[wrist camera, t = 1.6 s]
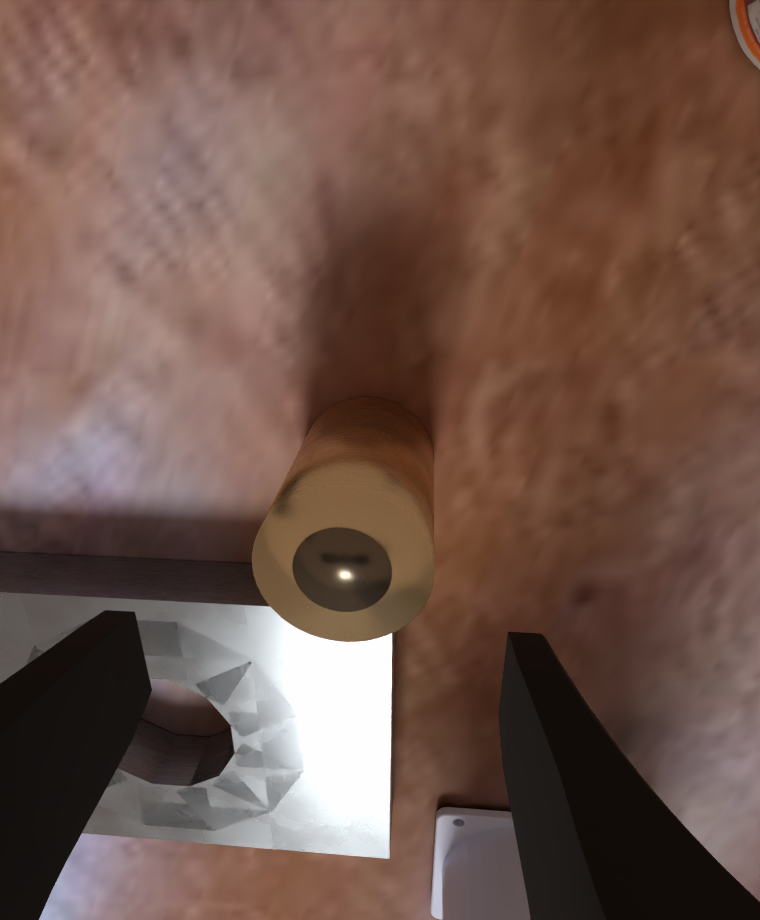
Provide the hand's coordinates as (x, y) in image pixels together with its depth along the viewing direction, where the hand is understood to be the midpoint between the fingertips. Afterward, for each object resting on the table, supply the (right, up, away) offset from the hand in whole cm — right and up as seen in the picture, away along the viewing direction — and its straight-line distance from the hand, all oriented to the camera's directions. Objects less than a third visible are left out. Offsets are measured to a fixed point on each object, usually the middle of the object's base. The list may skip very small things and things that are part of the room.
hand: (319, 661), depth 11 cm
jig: (-7, -6, +14) cm, 17 cm away
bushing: (+1, +4, +9) cm, 10 cm away
